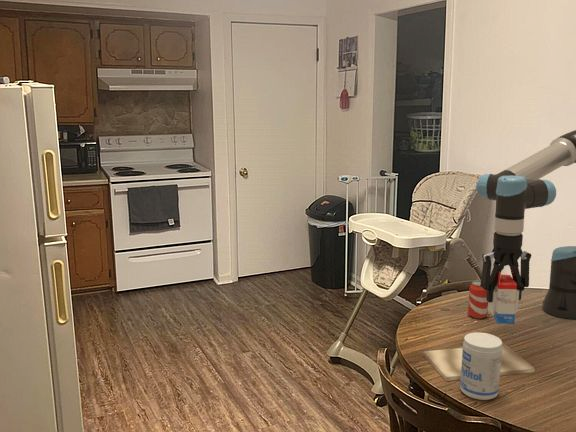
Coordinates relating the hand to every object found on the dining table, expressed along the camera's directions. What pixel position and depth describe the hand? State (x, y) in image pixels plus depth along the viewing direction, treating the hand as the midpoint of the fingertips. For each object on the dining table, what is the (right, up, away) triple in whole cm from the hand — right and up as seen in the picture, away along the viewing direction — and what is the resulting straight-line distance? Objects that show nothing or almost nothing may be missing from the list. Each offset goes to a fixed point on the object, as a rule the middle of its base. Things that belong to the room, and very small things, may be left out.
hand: (502, 311), depth 164 cm
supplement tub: (-11, -19, -13) cm, 26 cm away
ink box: (0, -2, +1) cm, 2 cm away
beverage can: (+5, -8, +37) cm, 38 cm away
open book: (-7, -15, +2) cm, 17 cm away
